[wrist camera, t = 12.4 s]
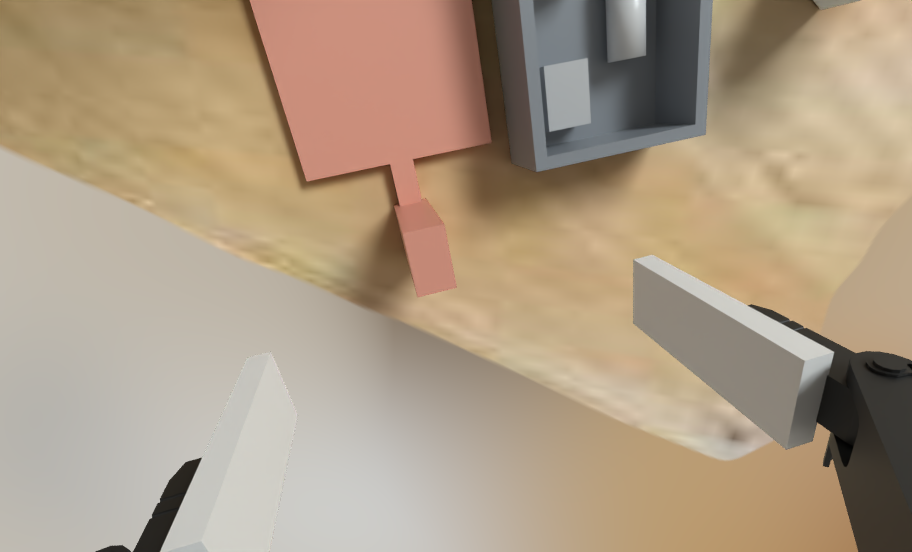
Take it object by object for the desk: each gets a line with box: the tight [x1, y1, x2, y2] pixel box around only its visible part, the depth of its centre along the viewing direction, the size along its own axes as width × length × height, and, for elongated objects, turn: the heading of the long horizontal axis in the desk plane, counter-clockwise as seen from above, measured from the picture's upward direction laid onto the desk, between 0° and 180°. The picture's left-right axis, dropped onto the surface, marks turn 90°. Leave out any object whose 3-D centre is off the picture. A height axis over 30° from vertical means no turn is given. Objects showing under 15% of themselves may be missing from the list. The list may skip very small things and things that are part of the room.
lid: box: [250, 0, 492, 297], centre depth 24 cm, size 26×13×8 cm, turn 10°
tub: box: [491, 0, 713, 172], centre depth 26 cm, size 18×12×5 cm, turn 10°
